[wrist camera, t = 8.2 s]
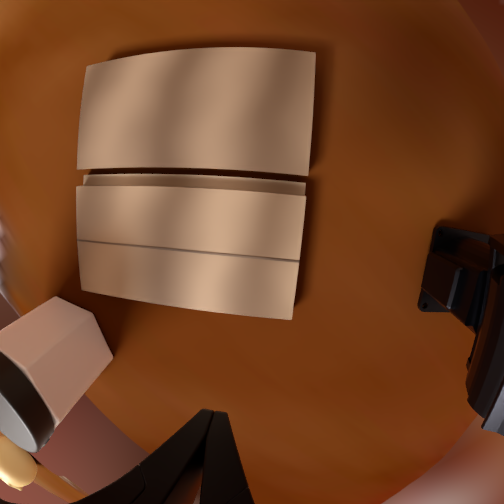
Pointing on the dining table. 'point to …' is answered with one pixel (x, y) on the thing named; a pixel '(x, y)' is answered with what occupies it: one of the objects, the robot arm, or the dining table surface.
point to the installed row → (192, 241)
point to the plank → (200, 110)
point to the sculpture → (15, 464)
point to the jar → (47, 369)
